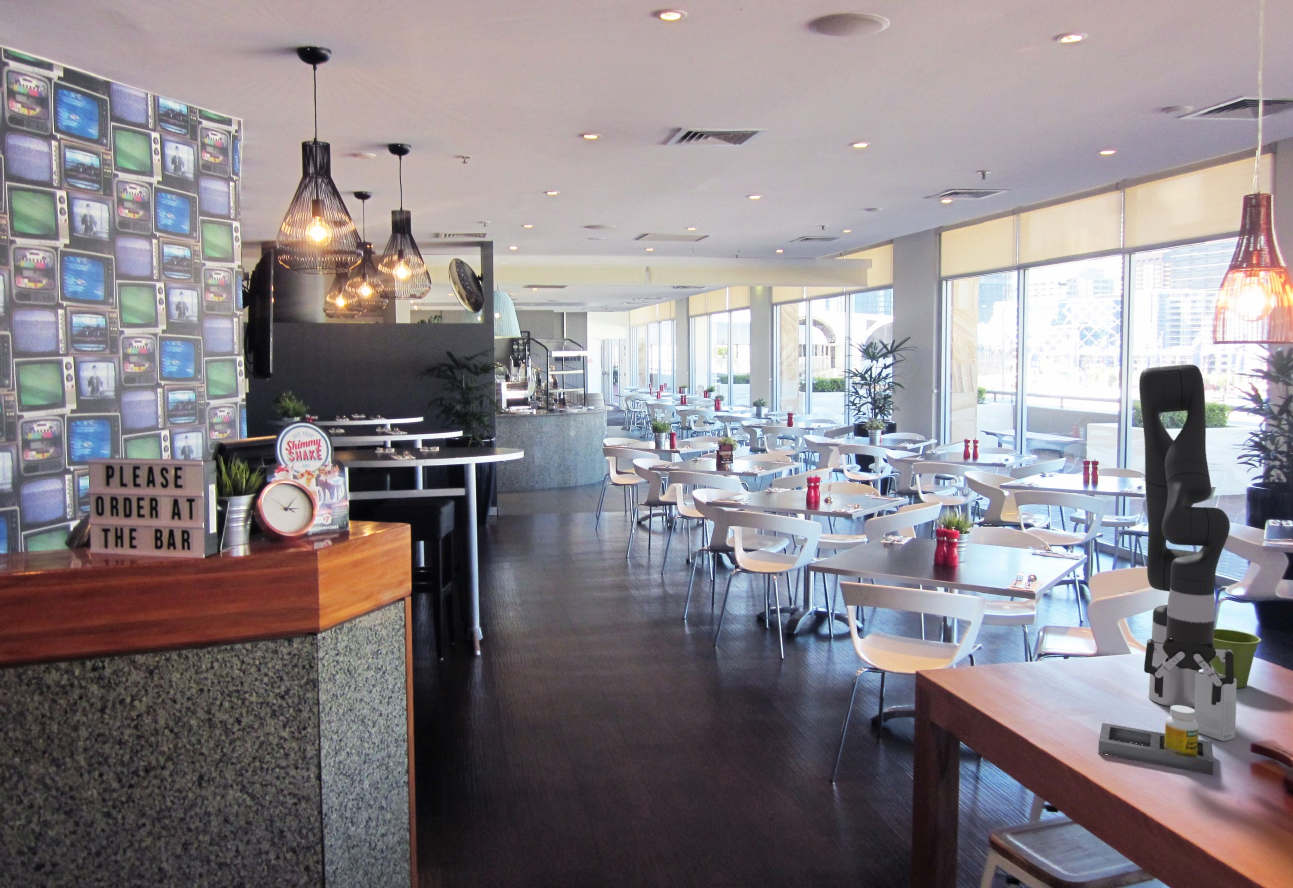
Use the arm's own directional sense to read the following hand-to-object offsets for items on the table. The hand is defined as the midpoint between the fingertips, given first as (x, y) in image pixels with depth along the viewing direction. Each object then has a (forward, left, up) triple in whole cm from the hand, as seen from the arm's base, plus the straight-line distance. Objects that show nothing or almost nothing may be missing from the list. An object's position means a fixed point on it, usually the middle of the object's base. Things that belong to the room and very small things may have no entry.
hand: (1186, 699), depth 172 cm
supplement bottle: (0, -1, -12) cm, 12 cm away
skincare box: (-16, +5, -12) cm, 20 cm away
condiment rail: (0, -5, -11) cm, 12 cm away
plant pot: (-52, +9, -12) cm, 54 cm away
